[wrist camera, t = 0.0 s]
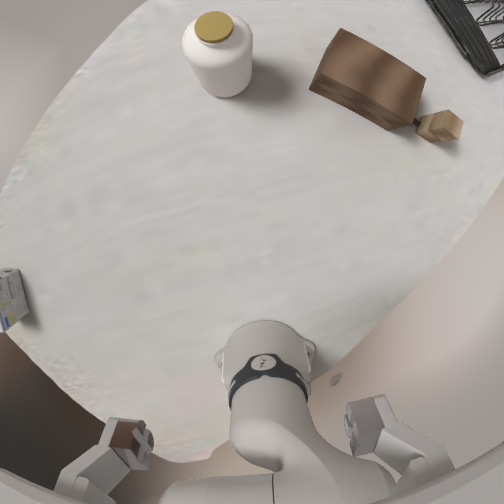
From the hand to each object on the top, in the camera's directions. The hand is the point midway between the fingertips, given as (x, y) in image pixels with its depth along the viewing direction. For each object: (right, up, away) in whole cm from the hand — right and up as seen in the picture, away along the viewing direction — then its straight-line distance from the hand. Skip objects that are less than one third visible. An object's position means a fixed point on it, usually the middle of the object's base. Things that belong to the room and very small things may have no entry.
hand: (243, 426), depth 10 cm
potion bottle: (-4, +35, +31) cm, 47 cm away
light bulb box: (-53, -2, +40) cm, 67 cm away
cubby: (+19, +34, +31) cm, 50 cm away
